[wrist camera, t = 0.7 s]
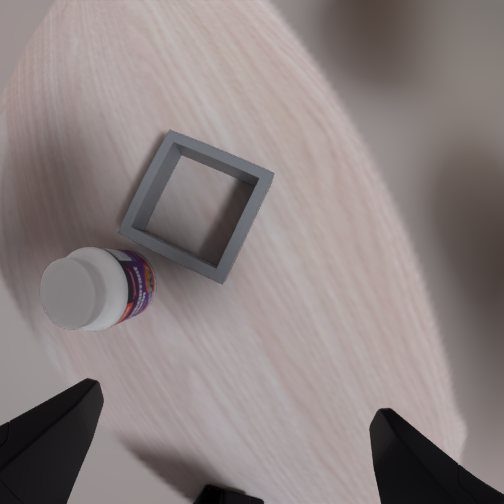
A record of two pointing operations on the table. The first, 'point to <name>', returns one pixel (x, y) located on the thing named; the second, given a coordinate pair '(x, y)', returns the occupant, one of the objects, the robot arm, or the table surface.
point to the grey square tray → (156, 183)
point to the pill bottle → (96, 288)
